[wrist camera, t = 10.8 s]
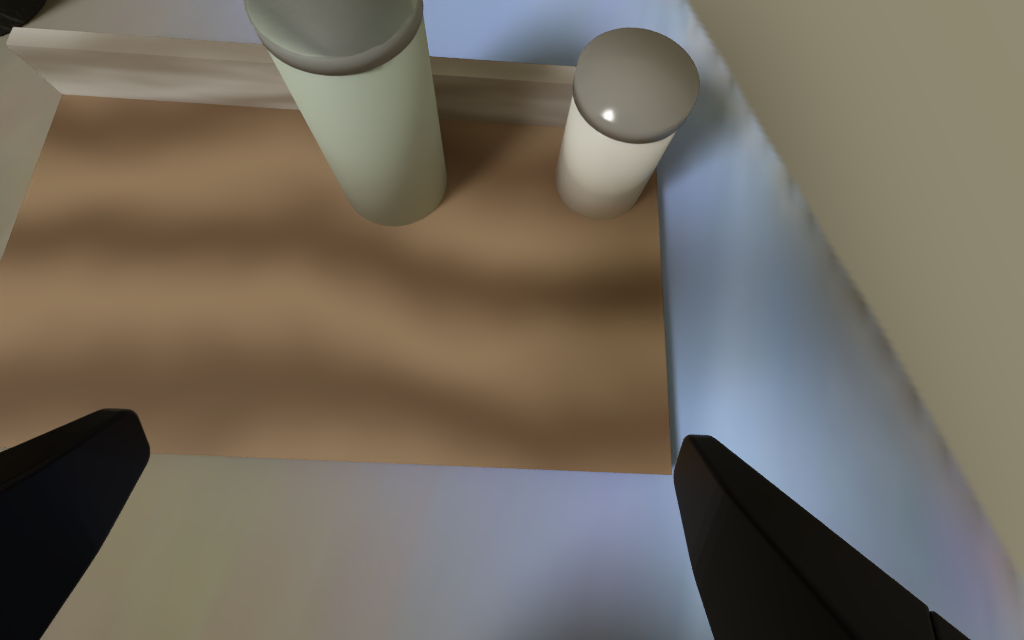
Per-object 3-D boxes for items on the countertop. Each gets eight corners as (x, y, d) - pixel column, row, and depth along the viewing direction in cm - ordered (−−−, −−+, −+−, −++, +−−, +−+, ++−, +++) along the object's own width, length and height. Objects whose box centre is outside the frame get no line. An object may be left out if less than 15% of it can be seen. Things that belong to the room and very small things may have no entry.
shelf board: (665, 474, 21) (702, 476, 18) (-46, 444, 20) (-163, 440, 17) (648, 127, 26) (674, 73, 23) (80, 89, 25) (13, 26, 22)
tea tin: (444, 230, 23) (412, 65, 14) (336, 224, 23) (226, 52, 13) (452, 139, 25) (427, -68, 15) (350, 133, 25) (261, -80, 15)
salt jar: (645, 224, 24) (704, 133, 17) (551, 218, 24) (575, 125, 17) (641, 143, 25) (695, 32, 19) (553, 138, 25) (576, 23, 18)
